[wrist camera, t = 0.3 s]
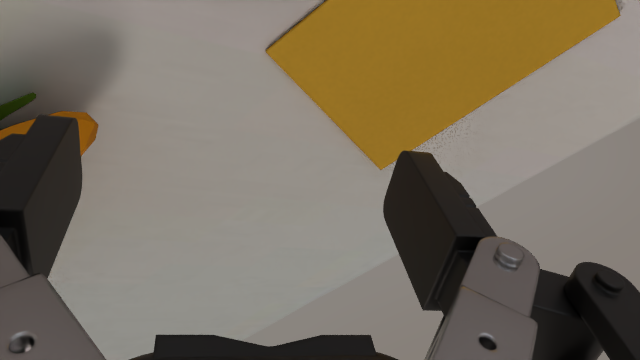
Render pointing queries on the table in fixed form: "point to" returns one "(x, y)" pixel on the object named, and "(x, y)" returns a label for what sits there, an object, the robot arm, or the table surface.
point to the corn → (84, 120)
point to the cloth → (424, 60)
